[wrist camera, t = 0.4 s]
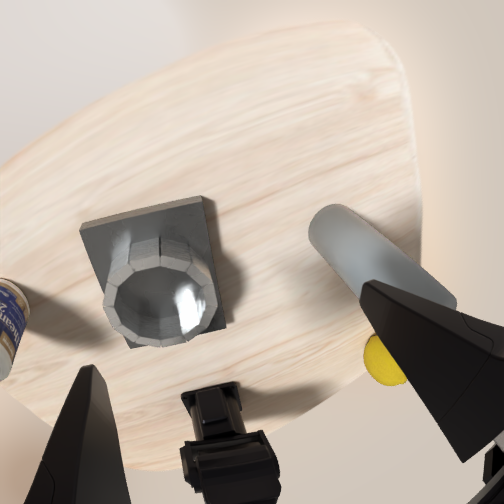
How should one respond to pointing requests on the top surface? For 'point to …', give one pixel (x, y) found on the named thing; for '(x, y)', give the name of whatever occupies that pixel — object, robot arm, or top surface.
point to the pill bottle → (11, 324)
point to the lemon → (382, 364)
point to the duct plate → (156, 272)
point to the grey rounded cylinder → (369, 256)
